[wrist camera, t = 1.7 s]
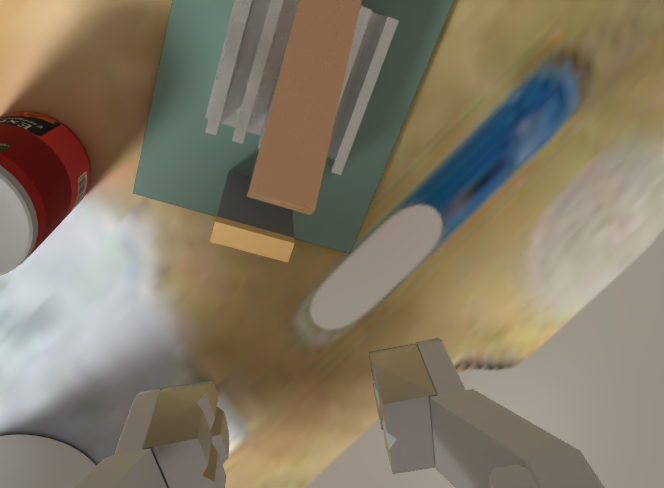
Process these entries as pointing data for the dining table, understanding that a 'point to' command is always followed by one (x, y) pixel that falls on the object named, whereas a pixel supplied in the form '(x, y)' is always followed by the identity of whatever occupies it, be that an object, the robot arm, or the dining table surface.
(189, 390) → the robot arm
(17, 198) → the canned food
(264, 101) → the heatsink
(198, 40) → the board
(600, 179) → the dining table surface
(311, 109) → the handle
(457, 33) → the dining table surface
